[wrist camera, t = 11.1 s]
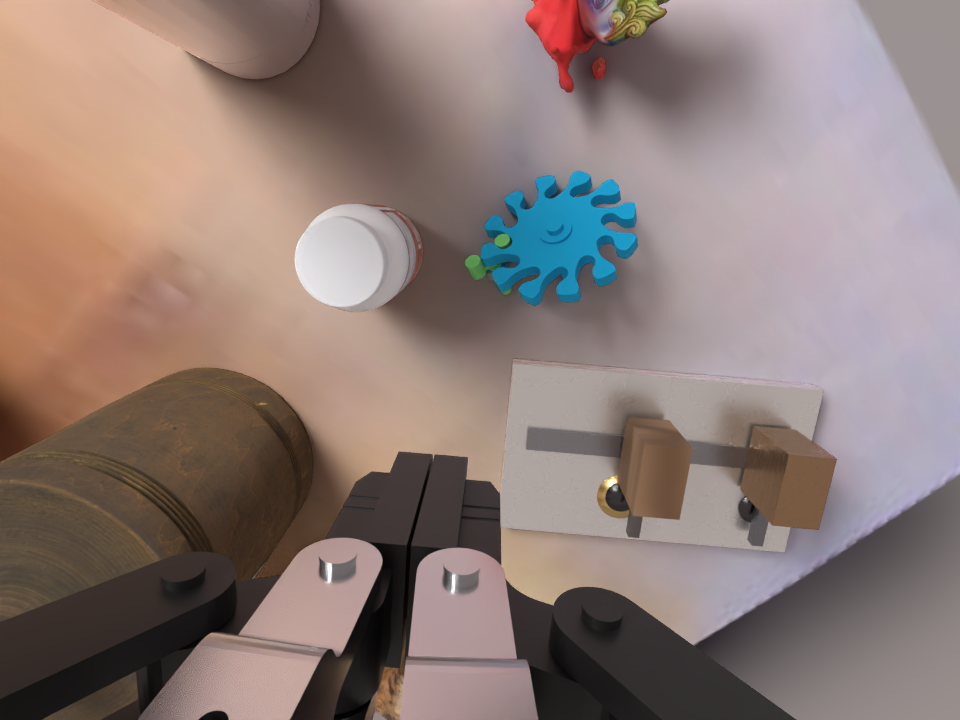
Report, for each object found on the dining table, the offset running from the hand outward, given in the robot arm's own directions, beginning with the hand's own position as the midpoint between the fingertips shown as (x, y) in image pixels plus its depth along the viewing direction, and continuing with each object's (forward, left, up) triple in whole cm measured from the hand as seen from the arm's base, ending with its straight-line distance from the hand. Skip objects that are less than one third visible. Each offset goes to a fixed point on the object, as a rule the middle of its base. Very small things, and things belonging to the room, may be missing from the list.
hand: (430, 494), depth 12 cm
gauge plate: (+14, -11, -29) cm, 34 cm away
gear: (+4, +5, -29) cm, 30 cm away
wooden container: (-19, -14, -29) cm, 38 cm away
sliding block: (+13, -11, -27) cm, 32 cm away
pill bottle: (-7, +3, -29) cm, 30 cm away
